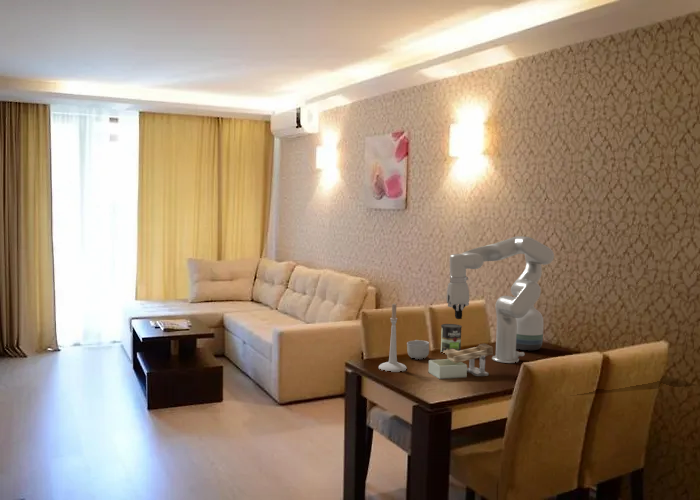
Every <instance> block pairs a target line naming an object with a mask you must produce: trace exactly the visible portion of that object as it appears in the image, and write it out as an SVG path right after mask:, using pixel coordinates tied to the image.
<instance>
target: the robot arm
mask: <svg viewBox="0 0 700 500" xmlns="http://www.w3.org/2000/svg"><path fill="white" fill-rule="evenodd" d="M519 254H520V255H524V259H525V260H524V261H525V268H524V269H523V271H522V272H521V274H520V275H519V276H518V277H517V278H516V280H515V281H514V282H513V284H512V285H511V287H510V293H511V295H512V296H511V295H502V296H500V297H498V298H497V299H496V302H495V306H494V307H495V314H496V335H495V336H496V337H495V338H496V339H495V355H492V357H491V359H492V360H493V361H494V362H498V363H502V364H505V363H506V364H515V362H516V363H519V361H520V358H519V357H524V356H525V351H521V352H519V351H517V349H516V334H517V321H516V318H522V317H524V316H525V315H526V314H527V313H528V311H529V310H530V309H531V308H532V306H533V305H535V304H536V303H537V302H538V300H539V298H540V297H541V294H542V291H541V290H542V289H541V286H540V284H538V282H539V281H540V280H541V277H542V273H543V269H542V268H543V267H542V265H543V266H544V265H545V266H546V265H550V264H551V263H553V261H554V259H555V254H554V251H553V250H552V248H550V247H549V246H547V245H545V244H544V243H542V242H540V241H538V240H537V239H534V238H532V237H530V236H522V235H521V236H520V235H519V236H518V235H516V236H513V237H510V238H507V239H504V240H502V241H497V242H496V243H495V242H494V243H491V244H487V245H484V246H483V245H482V246H479V247H475V248H472V249H469V250H466V251H464V252H462V253H452V254H450V255H449V282H448V284H447V289H446V303H447V307H449V308H452V309H453V310H454V317H455V319H457V320H462V319H463V318H462V317H463V311H464V309H465V308H466V307H469V305H470V303H469V302H470V290H469V285H468V282H467V281H468V280H469V277H468V276H467V270H477V269H480V268H482V266H483V265H484V262H498V261H502V260H505V259H508V258H510V257H513V256H517V255H519Z"/></svg>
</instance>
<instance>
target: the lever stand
mask: <svg viewBox="0 0 700 500" xmlns="http://www.w3.org/2000/svg"><path fill="white" fill-rule="evenodd" d="M475 361H476V358H475V359H470V360H468V362H469V363H468V367H467V373H469V374H471V375H473V376H475V377H485V376H486V377H487V376H488V377H489V376H490V375H489V372H488V371H486V370H485V369H486V356H485V355H480V357H479V367H476V366H475V364H476V363H475Z"/></svg>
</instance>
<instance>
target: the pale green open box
mask: <svg viewBox="0 0 700 500" xmlns="http://www.w3.org/2000/svg"><path fill="white" fill-rule="evenodd" d="M467 368H468V364H466V363H465V362H464V361H461V362H457V363H454V362H452V361H450V360H448V359H447V358H446V359H430V360H428V373H429V374H430V375H432V376H433V377H435V378H437V379H439V380H446V379H460V378H461V379H463V378H467V375H468V374H467V373H468V372H467Z"/></svg>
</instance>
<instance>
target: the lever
mask: <svg viewBox="0 0 700 500" xmlns="http://www.w3.org/2000/svg"><path fill="white" fill-rule="evenodd" d="M443 353H445V354H444V355H446V359H448V360H450V361H452V362H454V363H457V362H465V361H469V360H470V359H475V360H476V359H480V355H485V357H487V356H494V347H493V346H492V345H489V344H487V343H479V344H478V346H476V347H475V346H474V347H470V348H465V349H461V350H460V351H457V350H455V349H449V350H444V351H443ZM443 353H442V354H443Z"/></svg>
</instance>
